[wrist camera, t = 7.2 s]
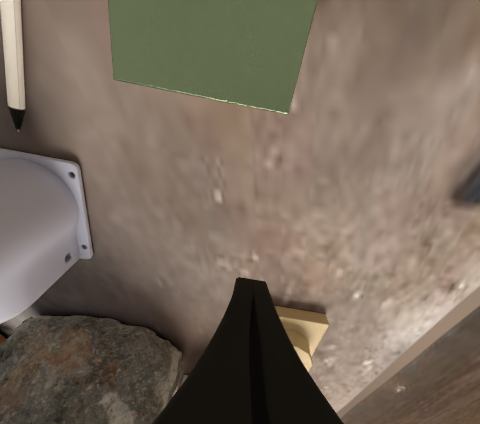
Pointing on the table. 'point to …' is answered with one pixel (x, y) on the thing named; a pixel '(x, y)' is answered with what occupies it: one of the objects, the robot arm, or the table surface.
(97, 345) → the rock
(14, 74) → the pen
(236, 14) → the green rectangular panel
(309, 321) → the control block
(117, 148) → the table surface
